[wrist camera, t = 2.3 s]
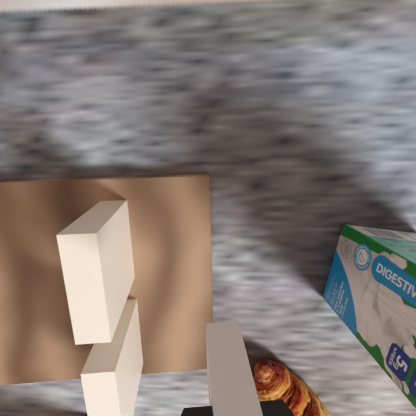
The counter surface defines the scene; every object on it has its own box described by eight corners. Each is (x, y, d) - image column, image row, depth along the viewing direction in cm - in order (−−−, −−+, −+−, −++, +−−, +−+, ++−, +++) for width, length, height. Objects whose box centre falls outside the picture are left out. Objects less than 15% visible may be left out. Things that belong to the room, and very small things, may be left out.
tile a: (108, 278, 27) (72, 344, 19) (98, 200, 25) (52, 235, 17) (134, 277, 28) (111, 342, 19) (127, 200, 26) (96, 233, 17)
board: (-17, 375, 31) (-27, 387, 30) (-73, 182, 25) (-88, 185, 24) (212, 357, 33) (213, 368, 31) (208, 173, 27) (209, 176, 26)
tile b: (119, 364, 30) (92, 457, 22) (111, 300, 28) (77, 374, 19) (143, 362, 30) (125, 453, 22) (136, 299, 28) (115, 371, 20)
